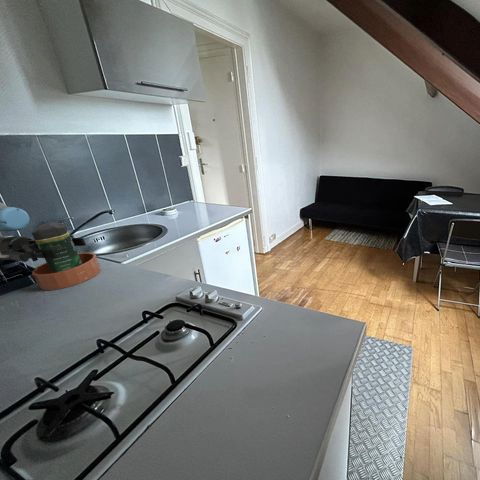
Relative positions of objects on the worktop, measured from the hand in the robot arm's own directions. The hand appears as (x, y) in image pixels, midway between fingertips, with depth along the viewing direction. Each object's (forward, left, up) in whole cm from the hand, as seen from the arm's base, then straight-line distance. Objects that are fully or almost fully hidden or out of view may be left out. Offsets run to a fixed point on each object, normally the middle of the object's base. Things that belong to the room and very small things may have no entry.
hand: (69, 247), depth 85 cm
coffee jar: (-4, +3, -11) cm, 12 cm away
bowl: (-4, +3, -11) cm, 12 cm away
